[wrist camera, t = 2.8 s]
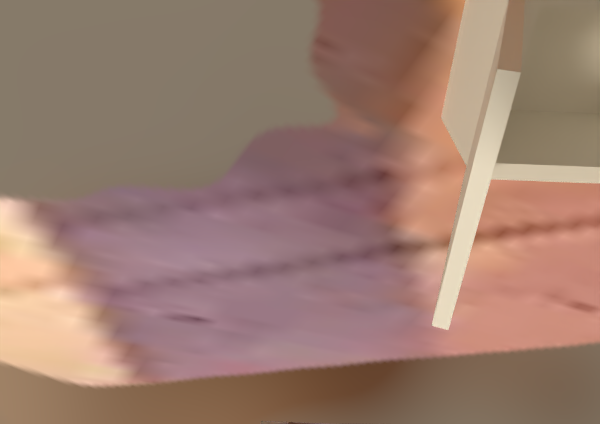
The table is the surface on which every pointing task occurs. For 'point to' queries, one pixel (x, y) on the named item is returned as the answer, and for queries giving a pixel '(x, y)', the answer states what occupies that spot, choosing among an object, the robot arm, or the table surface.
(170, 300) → the table surface
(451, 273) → the lid flap
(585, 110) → the carton
